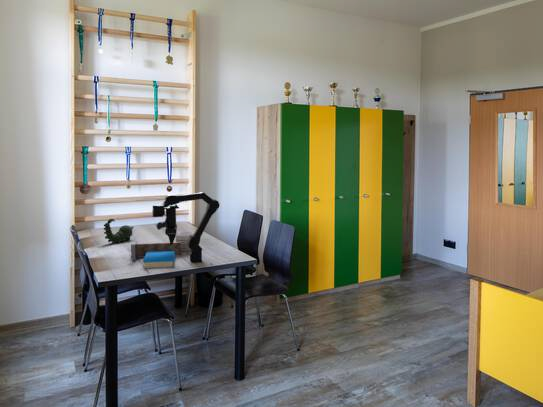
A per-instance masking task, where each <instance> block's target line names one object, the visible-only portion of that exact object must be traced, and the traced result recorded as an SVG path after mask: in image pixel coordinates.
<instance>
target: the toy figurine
mask: <svg viewBox="0 0 543 407" xmlns="http://www.w3.org/2000/svg"><path fill="white" fill-rule="evenodd" d="M115 221H116V220H115V219H114V218H110V219H108V220H107V222H105V223H104V224H103V227H104V228H103V230H104V232H103V233H104V235H106V236H104V239H107V242H108V243H118V244H120V243H121V242H125V241H131V237H132V236H133V229H134V227H135V226H130V225H127V224H126V225H125V224H124V225H122V226H121V227H119V229H118V231H117V232H116V233H114V232H113V231H112V226H111V224H112V222H115Z"/></svg>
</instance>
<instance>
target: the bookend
mask: <svg viewBox="0 0 543 407" xmlns="http://www.w3.org/2000/svg"><path fill="white" fill-rule="evenodd" d="M131 244H132V257H131V262H136V261H137V259H138V257H137V244H138V241H136V240H134V241H132V242H131Z"/></svg>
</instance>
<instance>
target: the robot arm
mask: <svg viewBox="0 0 543 407" xmlns="http://www.w3.org/2000/svg"><path fill="white" fill-rule="evenodd" d="M196 200H197V201H198V200H202V201H204V202H205V203H206V204H207V205H206V208H205V212H204V214H203V216H202V217H201V220H200V222H199V224H198V226H197V228H196V229H195V231H194V233H193V235H191V234H190V236H189V238H188V239H187V245H188V247H189V248H190V249H191V250H192V251H191V252H190V253H189V261H190V262H191V263H203V253H202V252H203V248H202V247H201V246H200V242H201V237H202V236H203V234H204V231H205V229H206V227H207V225H209V222H210V220H211V218H212V216H213V215H214V214H215V213H216V212H217V210H218V209H219V208H220V202H219V201H218V200H216V199H215V198H211V197H210V196H209V195H207V194H206V193H205V191H200V192H194V193H186V194H185V193H184V194H172V193H171V194H167V195H166V196H165V197H164V201H163V202H162V204H161V205H158V204H157V205H155V204H153V205H152V212H151V213H152V218H163V217H164V216H165V220H163V221H159V222H157V223H156V224H155V226H156V228H157V230H158V231H159V230H161V229H164V228H165V229H164V231H165V232H164V233H165V235H166V236H168V239H169V242H170V245H172V244H173V242H175V240H176V233H178V232H177V230H178V224H177V209H180V206H178V205H177V204H179V203H184V202H189V201H196Z"/></svg>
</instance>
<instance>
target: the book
mask: <svg viewBox="0 0 543 407" xmlns="http://www.w3.org/2000/svg"><path fill="white" fill-rule="evenodd" d="M175 256H176V255H175V252H174V251H158V252H147V253H146V255H145V257H143V261H142V263H143V268H144V269H149V268H169V267H174V264H175Z"/></svg>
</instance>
